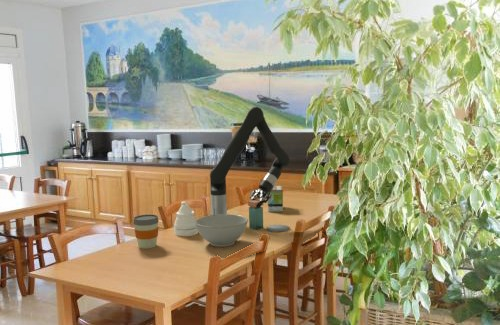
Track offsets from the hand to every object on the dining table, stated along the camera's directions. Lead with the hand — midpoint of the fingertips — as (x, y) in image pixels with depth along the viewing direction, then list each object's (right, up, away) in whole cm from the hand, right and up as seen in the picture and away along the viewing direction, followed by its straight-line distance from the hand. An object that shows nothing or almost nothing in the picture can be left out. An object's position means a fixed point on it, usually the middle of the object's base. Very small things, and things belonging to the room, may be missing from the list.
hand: (253, 206), depth 279 cm
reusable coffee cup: (-54, -18, -26) cm, 63 cm away
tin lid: (+1, -1, +1) cm, 2 cm away
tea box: (+15, -6, +48) cm, 51 cm away
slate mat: (+14, -13, -1) cm, 19 cm away
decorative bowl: (-16, -17, -25) cm, 34 cm away
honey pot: (-38, -15, -4) cm, 40 cm away
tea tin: (+2, -12, +3) cm, 13 cm away
